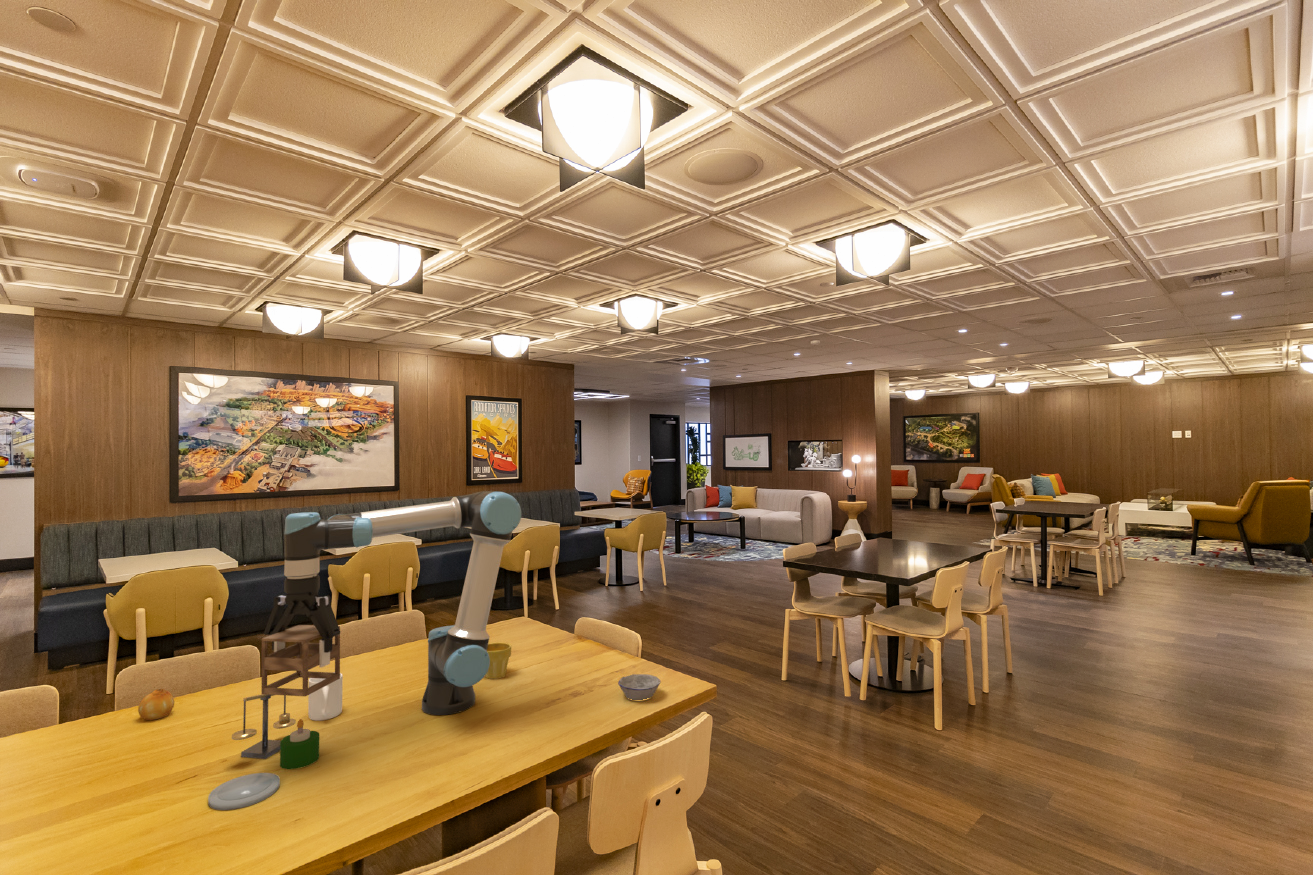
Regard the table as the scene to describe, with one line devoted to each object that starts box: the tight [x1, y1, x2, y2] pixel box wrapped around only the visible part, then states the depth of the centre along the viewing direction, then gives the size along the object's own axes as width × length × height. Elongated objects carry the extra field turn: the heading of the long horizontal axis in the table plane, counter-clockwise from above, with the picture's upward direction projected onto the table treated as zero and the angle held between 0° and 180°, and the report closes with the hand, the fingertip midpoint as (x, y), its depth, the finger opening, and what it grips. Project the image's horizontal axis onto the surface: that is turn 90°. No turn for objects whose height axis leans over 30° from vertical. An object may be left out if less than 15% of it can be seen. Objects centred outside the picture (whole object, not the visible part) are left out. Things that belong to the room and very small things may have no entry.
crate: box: [260, 624, 341, 697], centre depth 150 cm, size 12×12×13 cm
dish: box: [207, 772, 281, 811], centre depth 134 cm, size 13×13×1 cm
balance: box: [231, 694, 297, 760], centre depth 154 cm, size 7×18×16 cm, turn 170°
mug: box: [307, 671, 343, 722], centre depth 174 cm, size 9×12×11 cm
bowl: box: [617, 673, 661, 701], centre depth 187 cm, size 13×13×5 cm
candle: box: [279, 718, 320, 770], centre depth 149 cm, size 8×8×10 cm
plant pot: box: [484, 641, 512, 680], centre depth 207 cm, size 10×10×10 cm
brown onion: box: [137, 688, 175, 721], centre depth 176 cm, size 8×8×8 cm
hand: (302, 664), depth 150 cm, fingers closed on crate, 12 cm apart
